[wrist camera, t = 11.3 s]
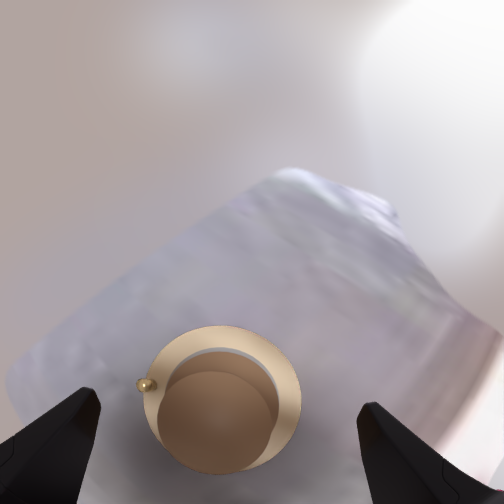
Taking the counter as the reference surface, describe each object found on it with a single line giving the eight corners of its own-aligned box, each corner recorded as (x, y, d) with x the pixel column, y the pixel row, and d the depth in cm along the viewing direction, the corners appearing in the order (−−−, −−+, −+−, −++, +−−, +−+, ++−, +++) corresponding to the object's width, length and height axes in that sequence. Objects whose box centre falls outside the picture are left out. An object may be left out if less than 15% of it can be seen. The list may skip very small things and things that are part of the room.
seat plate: (284, 477, 17) (291, 489, 14) (136, 447, 17) (124, 456, 14) (308, 341, 22) (319, 335, 19) (164, 313, 22) (155, 304, 19)
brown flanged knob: (270, 456, 17) (294, 504, 9) (163, 443, 17) (121, 480, 9) (280, 358, 20) (312, 347, 12) (175, 345, 20) (138, 324, 12)
